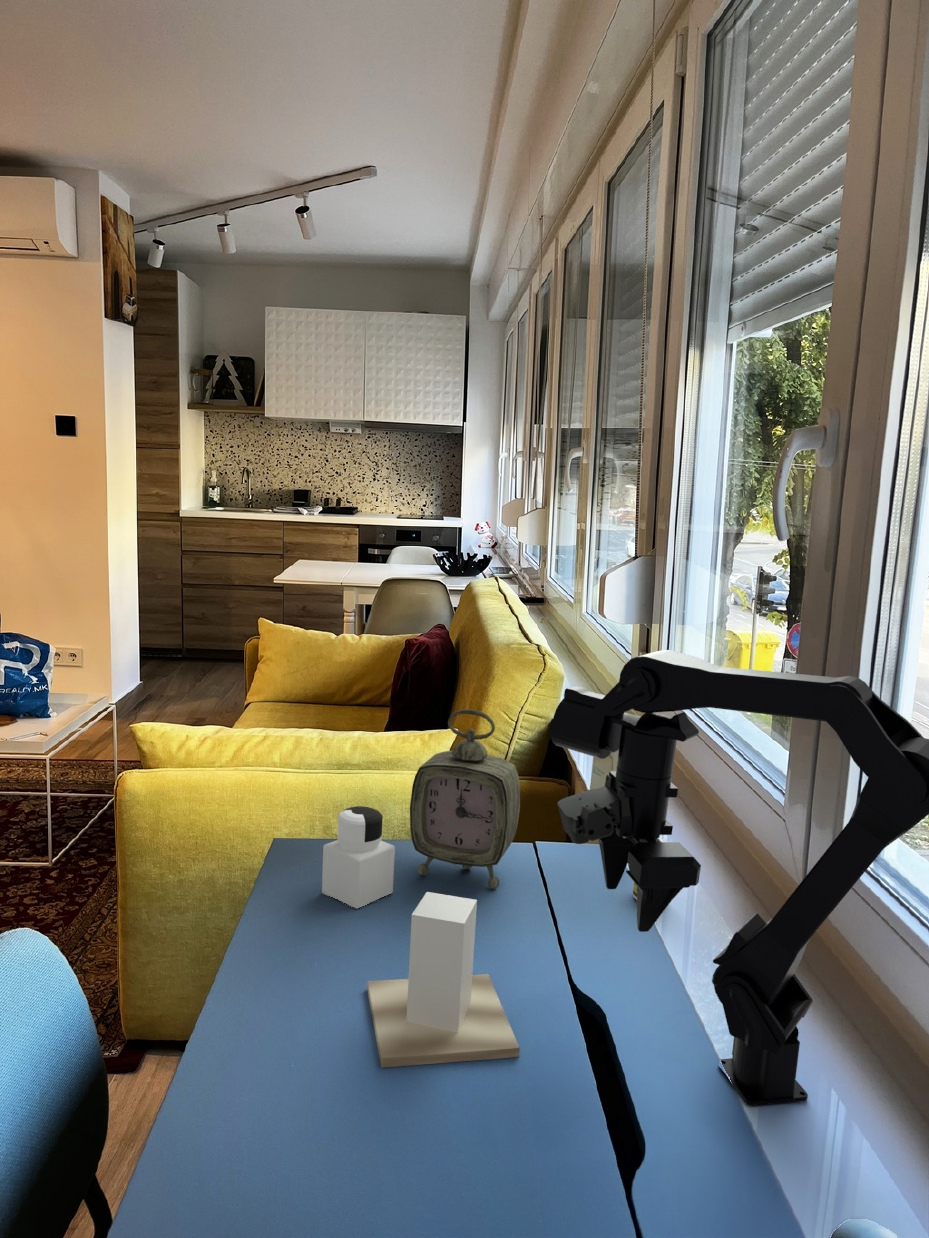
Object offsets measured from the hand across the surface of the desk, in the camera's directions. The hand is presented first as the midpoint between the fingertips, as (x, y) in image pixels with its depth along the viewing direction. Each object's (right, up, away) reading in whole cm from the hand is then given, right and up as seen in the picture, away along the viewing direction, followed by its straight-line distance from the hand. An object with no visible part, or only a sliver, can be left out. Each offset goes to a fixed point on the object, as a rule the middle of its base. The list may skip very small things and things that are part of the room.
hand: (626, 908), depth 99 cm
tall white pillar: (-20, -11, 0) cm, 23 cm away
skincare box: (+9, -3, +69) cm, 69 cm away
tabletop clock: (-18, -7, +37) cm, 41 cm away
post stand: (-20, -12, 0) cm, 23 cm away
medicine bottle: (-32, -7, +29) cm, 44 cm away
